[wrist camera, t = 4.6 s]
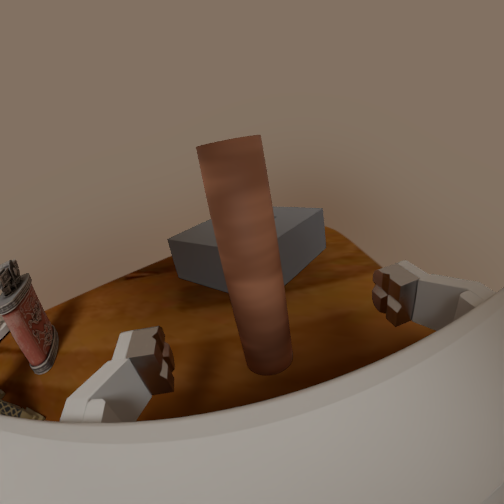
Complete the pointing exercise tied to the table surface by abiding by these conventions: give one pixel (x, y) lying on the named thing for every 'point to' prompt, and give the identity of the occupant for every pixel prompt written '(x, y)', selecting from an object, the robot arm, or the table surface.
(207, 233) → the holder
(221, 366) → the table surface
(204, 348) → the table surface
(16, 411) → the eiffel tower
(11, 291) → the lighter
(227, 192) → the peg
